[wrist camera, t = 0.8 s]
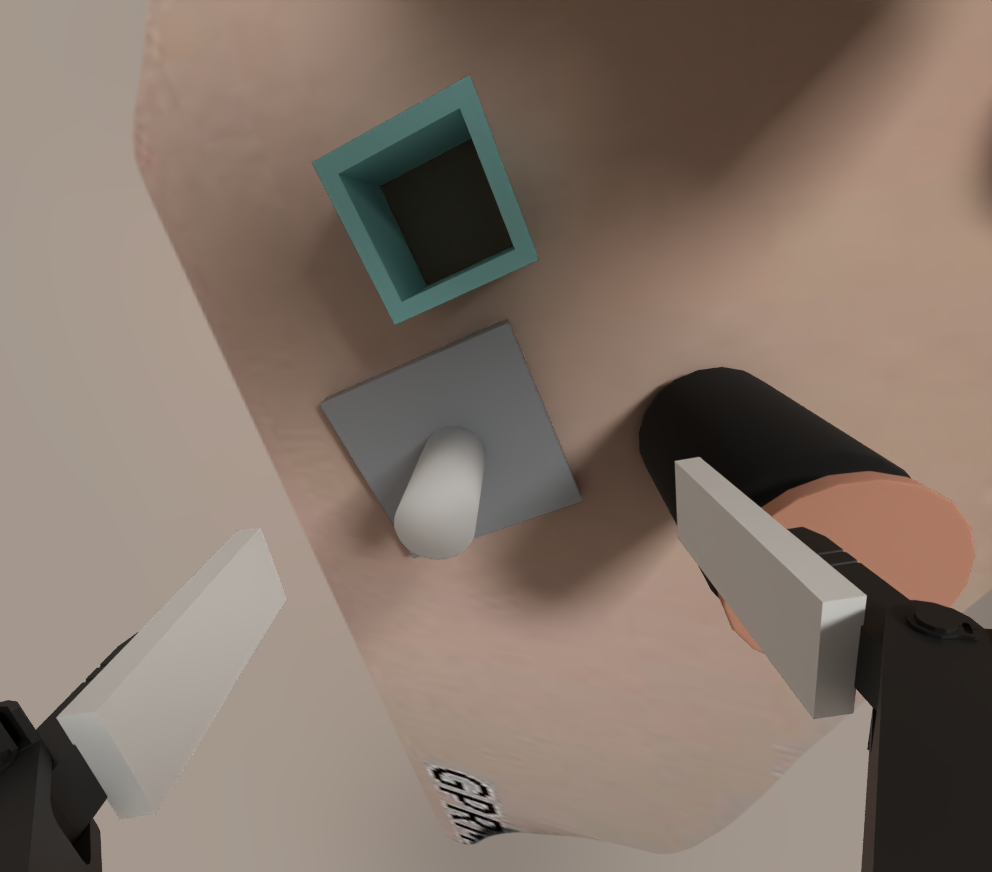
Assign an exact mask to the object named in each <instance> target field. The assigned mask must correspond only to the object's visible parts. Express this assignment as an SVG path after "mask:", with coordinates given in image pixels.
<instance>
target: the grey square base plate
mask: <svg viewBox="0 0 992 872" xmlns="http://www.w3.org/2000/svg"><path fill="white" fill-rule="evenodd" d="M319 405H320V407H321V408H322V410H323V411H324V413H325V415H326V416H327V418H328V420H329V421H330V423H331V424H332V426H333V428H334V429H335V431H336V433H337V434H338V436H339V437H340V439H341V441H342V442H343V444H344V446H345V447H346V449H347V451H348V452H349V454H350V455H351V457H352V459H353V460H354V462H355V464H356V465H357V467H358V468H359V470H360V472H361V473H362V475H363V477H364V478H365V480H366V482H367V483H368V485H369V486H370V488H371V490H372V491H373V493H374V495H375V496H376V498H377V499H378V501H379V503H380V504H381V506H382V508H383V509H384V511H385V512H386V514H387V516H388V517H389V519H390V521H391V522H392V524H393V526H394V527H395V531H396V534H397V536H398V538H399V540H400V541H401V543H402V544H403V545H404V546H405V547H406V548H407V549H408V550H409V552H410V553H411V555H412V557H413V558H416V557H419V556H422V557H425V558H429V559H447V558H451V557H454V556H457V555H458V554H460V553H462V552H463V551H464V550H466V549H467V548H468V546H469V545H470V544H471V542H472V540H473V538H475V537H478V536H481V535H484V534H487V533H490V532H493V531H496V530H499V529H502V528H505V527H508V526H511V525H514V524H517V523H520V522H523V521H526V520H529V519H532V518H535V517H538V516H541V515H544V514H547V513H550V512H553V511H556V510H559V509H562V508H565V507H568V506H571V505H574V504H577V503H580V502H583V501H582V497H581V493H580V490H579V488H578V485H577V483H576V481H575V478H574V476H573V473H572V471H571V469H570V466H569V464H568V461H567V459H566V457H565V454H564V452H563V449H562V447H561V445H560V442H559V440H558V437H557V435H556V433H555V430H554V428H553V425H552V423H551V421H550V418H549V416H548V413H547V411H546V409H545V406H544V404H543V402H542V399H541V397H540V394H539V392H538V390H537V387H536V385H535V382H534V380H533V378H532V375H531V373H530V370H529V368H528V366H527V363H526V361H525V358H524V356H523V354H522V351H521V349H520V346H519V344H518V342H517V339H516V337H515V334H514V332H513V330H512V327H511V325H510V322H509V320H508V319H507V320H505V321H503V322H500V323H498V324H496V325H493V326H491V327H489V328H487V329H484V330H482V331H480V332H477V333H475V334H473V335H470V336H468V337H466V338H463V339H461V340H459V341H456V342H454V343H452V344H449V345H447V346H445V347H443V348H440V349H438V350H436V351H433V352H431V353H429V354H426V355H424V356H422V357H419V358H417V359H415V360H412V361H410V362H408V363H406V364H403V365H401V366H399V367H396V368H394V369H392V370H389V371H387V372H385V373H382V374H380V375H378V376H375V377H373V378H371V379H369V380H366V381H364V382H362V383H359V384H357V385H355V386H352V387H350V388H348V389H345V390H343V391H341V392H338V393H336V394H334V395H331V396H329V397H327V398H325V399H324V400H323V401H322V402H321V403H320V404H319Z"/></svg>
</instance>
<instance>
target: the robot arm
mask: <svg viewBox="0 0 992 872" xmlns="http://www.w3.org/2000/svg"><path fill="white" fill-rule="evenodd" d="M675 479H676V504H677V529H678V539H679V540H680V542H681V543H682V544H683V546H684V547H685V548H686V550H687V551H688V552H689V554H690V555H691V556H692V558H693V559H694V560H695V562H696V563H697V564H698V566H699V567H700V568H701V570H702V571H703V572H704V574H705V575H706V576H707V578H708V579H709V580H710V582H711V583H712V584H713V586H714V587H715V588H716V590H717V591H718V592H719V594H720V595H721V596H722V598H723V599H724V600H725V602H726V603H727V604H728V606H729V607H730V608H731V610H732V611H733V612H734V614H735V615H736V616H737V618H738V619H739V620H740V622H741V623H742V624H743V626H744V627H745V628H746V630H747V631H748V632H749V634H750V635H751V636H752V638H753V639H754V640H755V642H756V643H757V644H758V646H759V647H760V648H761V650H762V651H763V652H764V654H765V655H766V656H767V658H768V659H769V660H770V662H771V663H772V664H773V666H774V667H775V668H776V670H777V671H778V672H779V674H780V675H781V676H782V678H783V679H784V680H785V682H786V683H787V684H788V686H789V687H790V688H791V690H792V691H793V692H794V694H795V695H796V696H797V698H798V699H799V700H800V702H801V703H802V704H803V706H804V707H805V708H806V710H807V711H808V712H809V714H810V715H811V716H812V718H813V719H817V718H823V717H830V716H837V715H844V714H851V713H853V712H854V703H855V694H856V689H857V690H858V691H859V693H860V694H861V695H862V696H863V697H864V698H865V699H866V700H867V701H868V702H869V704H870V705H871V706H872V707H873V711H872V718H871V726H870V734H869V741H868V750H869V762H868V778H867V793H866V810H865V823H864V839H863V855H862V869H861V872H992V629H984V628H983V627H981V626H980V625H979V624H978V623H976V622H975V621H974V620H973V619H971V618H970V617H968V616H966V615H964V614H962V613H960V612H958V611H956V610H954V609H952V608H949V607H946V606H943V605H940V604H936V603H933V602H926V601H919V600H909V599H908V598H907V597H905V596H904V595H903V594H901V593H900V592H899V591H897V590H896V589H895V588H893V587H892V586H891V585H890V584H888V583H887V582H886V581H884V580H883V579H882V578H880V577H879V576H878V575H876V574H875V573H874V572H872V571H871V570H870V569H868V568H867V567H866V566H864V565H863V564H862V563H858V562H857V560H856V559H855V558H854V557H852V556H851V555H850V554H848V553H847V552H843V549H842V548H840V547H839V546H838V545H837V544H835V543H834V542H833V541H831V540H830V539H829V538H827V537H826V536H824V535H821V534H819V533H817V532H814V531H812V530H810V529H807V528H805V527H797V528H790V529H786V528H785V527H783V526H782V525H781V524H780V523H779V522H777V521H776V520H775V519H774V518H773V517H771V516H770V515H769V514H768V513H767V512H765V511H764V510H763V509H762V508H761V507H759V506H758V505H757V504H756V503H755V502H753V501H752V500H751V499H750V498H748V497H747V496H746V495H745V494H744V493H742V492H741V491H740V490H739V489H738V488H736V487H735V486H734V485H733V484H732V483H730V482H729V481H728V480H727V479H726V478H724V477H723V476H722V475H721V474H719V473H718V472H717V471H716V470H715V469H713V468H712V467H711V466H710V465H709V464H707V463H706V462H705V461H704V460H703V459H701V458H700V457H696V458H690V459H684V460H677V461H675ZM286 599H287V598H286V595H285V593H284V590H283V587H282V584H281V581H280V579H279V576H278V573H277V571H276V568H275V565H274V563H273V560H272V557H271V554H270V552H269V549H268V546H267V544H266V541H265V538H264V535H263V533H262V530H261V527H257V528H251V529H244V530H238V531H236V532H235V533H234V534H233V535H232V536H231V537H230V538H229V539H228V540H227V541H226V542H225V544H223V545H222V547H221V548H220V549H219V550H218V551H217V552H216V553H215V554H214V555H213V556H212V557H211V558H210V559H209V560H208V561H207V562H206V563H205V564H204V565H203V566H202V567H201V568H200V569H199V570H198V571H197V572H196V574H195V575H194V576H193V577H192V578H191V579H190V580H189V581H188V582H187V583H186V584H185V585H184V586H183V587H182V588H181V589H180V590H179V591H178V592H177V593H176V594H175V595H174V596H173V597H172V598H171V599H170V600H169V601H168V602H167V604H166V605H165V606H164V607H163V608H162V609H161V610H160V611H159V612H158V613H157V614H156V615H155V616H154V617H153V618H152V619H151V620H150V621H149V622H148V623H147V624H146V625H145V626H144V627H143V628H142V629H141V630H140V631H139V632H138V633H136V634H135V635H133V636H132V637H131V638H129V639H128V640H127V641H125V642H124V643H122V644H121V645H119V646H118V647H117V648H116V649H115V650H114V651H113V652H112V653H111V654H110V655H109V656H108V657H107V658H106V659H105V660H104V661H103V662H102V663H101V666H100V668H96V669H95V670H94V671H93V672H92V673H91V674H90V675H89V676H88V678H87V679H86V682H85V683H82V684H81V685H80V686H79V687H78V688H77V689H76V690H75V691H74V692H73V693H72V694H71V695H70V696H69V697H68V698H67V699H66V700H65V701H64V702H63V703H62V704H61V705H60V706H59V707H58V708H57V709H56V710H55V711H54V712H53V713H52V714H51V715H50V716H49V717H48V718H47V719H46V720H45V721H44V722H43V723H42V724H41V725H40V726H39V727H38V728H37V729H36V730H35V728H34V727H33V725H32V724H31V722H30V721H29V719H28V717H27V716H26V715H25V713H24V711H23V710H22V708H21V707H20V705H19V704H18V702H16V701H9V700H7V701H3V702H0V872H102V859H101V838H100V830H99V828H98V826H97V824H96V822H95V821H94V819H93V817H94V816H95V814H96V813H97V811H98V810H99V809H100V807H101V806H102V804H103V803H104V802H105V800H106V799H107V800H108V802H109V803H110V805H111V806H112V808H113V810H114V811H115V813H116V814H117V816H118V817H119V819H124V818H130V817H138V816H145V815H152V814H156V813H157V812H158V810H159V809H160V807H161V805H162V804H163V802H164V800H165V799H166V797H167V795H168V794H169V792H170V790H171V789H172V787H173V786H174V784H175V782H176V781H177V779H178V777H179V776H180V774H181V772H182V771H183V769H184V768H185V766H186V764H187V762H188V761H189V759H190V758H191V756H192V754H193V753H194V751H195V749H196V748H197V746H198V744H199V743H200V741H201V739H202V738H203V736H204V734H205V733H206V731H207V729H208V728H209V726H210V725H211V723H212V721H213V720H214V718H215V716H216V715H217V713H218V711H219V710H220V708H221V706H222V705H223V703H224V702H225V700H226V698H227V697H228V695H229V693H230V692H231V690H232V688H233V687H234V685H235V683H236V682H237V680H238V678H239V677H240V675H241V673H242V672H243V670H244V669H245V667H246V665H247V663H248V662H249V660H250V659H251V657H252V655H253V654H254V652H255V650H256V649H257V647H258V645H259V644H260V642H261V640H262V639H263V637H264V636H265V634H266V632H267V630H268V629H269V627H270V626H271V624H272V622H273V621H274V619H275V617H276V616H277V614H278V613H279V610H280V609H281V608H282V606H283V604H284V603H285V601H286Z"/></svg>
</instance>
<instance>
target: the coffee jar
mask: <svg viewBox="0 0 992 872" xmlns="http://www.w3.org/2000/svg"><path fill="white" fill-rule="evenodd" d="M639 446H640V454H641V456H642V458H643V461H644V463H645V465H646V468H647V470H648V472H649V473H650V475H651V477H652V479H653V481H654V483H655V485H656V487H657V489H658V490H659V492H660V494H661V496H662V498H663V500H664V502H665V504H666V506H667V507H668V509H669V511H670V513H671V515H672V517H673V519H674V521H675V523H676V524H677V504H676V479H675V461H677V460H684V459H690V458H696V457H700V458H701V459H703V460H704V461H705V462H706V463H707V464H709V465H710V466H711V467H712V468H713V469H715V470H716V471H717V472H718V473H719V474H721V475H722V476H723V477H724V478H726V479H727V480H728V481H729V482H730V483H732V484H733V485H734V486H735V487H736V488H738V489H739V490H740V491H741V492H742V493H744V494H745V495H746V496H747V497H748V498H750V499H751V500H752V501H753V502H755V503H756V504H757V505H758V506H759V507H761V508H762V509H763V510H764V511H765V512H767V513H768V514H769V515H770V516H771V517H773V518H774V519H775V520H776V521H777V522H779V523H780V524H781V525H782V526H783V527H785V528H786V529H790V528H797V527H805V528H807V529H810V530H812V531H814V532H817V533H819V534H821V535H824V536H826V537H827V538H829V539H830V540H831V541H833V542H834V543H835V544H837V545H838V546H839V547H840V548H842V549H843V552H847V553H848V554H850V555H851V556H852V557H854V558H855V559H856V560H857V562H858V563H862V564H863V565H864V566H866V567H867V568H868V569H870V570H871V571H872V572H874V573H875V574H876V575H878V576H879V577H880V578H882V579H883V580H884V581H886V582H887V583H888V584H890V585H891V586H892V587H893V588H895V589H896V590H897V591H899V592H900V593H901V594H903V595H904V596H905V597H907V598H908V599H909V600H919V601H926V602H933V603H936V604H940V605H943V606H946V607H949V608H950V607H951V606H952V604H953V603H954V602H955V600H956V599H957V598H958V596H959V595H960V593H961V592H962V591H963V589H964V588H965V587H966V584H967V581H968V578H969V575H970V571H971V568H972V565H973V562H974V558H975V552H974V545H973V538H972V530H971V527H970V525H969V524H968V522H967V521H966V520H965V518H964V517H963V516H962V514H961V513H960V511H959V510H958V509H957V507H956V506H955V505H954V503H953V502H952V501H951V500H949V499H948V498H946V497H944V496H942V495H940V494H938V493H937V492H935V491H933V490H931V489H929V488H928V487H926V486H924V485H922V484H920V483H918V482H916V481H914V480H912V479H911V478H910V476H909V475H908V474H907V473H906V472H905V471H904V470H903V469H901V468H900V467H898V466H897V465H895V464H893V463H892V462H890V461H889V460H887V459H885V458H884V457H882V456H881V455H879V454H878V453H876V452H874V451H873V450H871V449H870V448H868V447H866V446H865V445H863V444H862V443H860V442H858V441H857V440H855V439H854V438H852V437H851V436H849V435H847V434H846V433H844V432H843V431H841V430H839V429H838V428H836V427H835V426H833V425H832V424H830V423H828V422H827V421H825V420H824V419H822V418H820V417H819V416H817V415H816V414H814V413H812V412H811V411H809V410H808V409H806V408H805V407H803V406H801V405H800V404H798V403H797V402H795V401H793V400H792V399H790V398H789V397H787V396H786V395H784V394H782V393H781V392H779V391H778V390H776V389H774V388H773V387H771V386H770V385H768V384H767V383H765V382H763V381H762V380H760V379H758V378H756V377H754V376H753V375H751V374H749V373H747V372H745V371H742V370H736V369H731V368H725V367H719V368H711V369H704V370H698V371H695V372H693V373H690V374H688V375H686V376H683V377H681V378H679V379H677V380H675V381H674V382H672V383H671V384H670V385H669V386H667V387H666V388H665V389H664V390H663V391H661V392H660V393H659V394H658V395H657V396H656V398H655V399H654V401H653V402H652V403H651V405H650V406H649V408H648V409H647V411H646V412H645V415H644V418H643V421H642V425H641V428H640V431H639ZM699 568H700V567H699ZM700 570H701V568H700ZM701 572H702V574H703V575H704V577H705V579H706V581H707V583H708V585H709V587H710V589H711V590H712V592H713V593H714V594H715V595H716V596H717V597H718V598H719V599H720V601H721V603H722V606H723V608H724V610H725V613H726V615H727V618H728V620H729V623H730V625H731V627H732V629H733V630H734V631H735V632H736V633H737V634H738V635H739V636H740V637H741V638H742V639H743V640H744V641H745V642H747V643H748V644H749V645H750V646H751V647H752V648H753V649H755V650H757V651H759V652H762V653H764V652H763V651H762V650H761V648H760V647H759V646H758V644H757V643H756V642H755V640H754V639H753V638H752V636H751V635H750V634H749V632H748V631H747V630H746V628H745V627H744V626H743V624H742V623H741V622H740V620H739V619H738V618H737V616H736V615H735V614H734V612H733V611H732V610H731V608H730V607H729V606H728V604H727V603H726V602H725V600H724V599H723V598H722V596H721V595H720V594H719V592H718V591H717V590H716V588H715V587H714V586H713V584H712V583H711V582H710V580H709V579H708V578H707V576H706V575H705V574H704V572H703V571H702V570H701Z"/></svg>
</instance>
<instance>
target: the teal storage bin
mask: <svg viewBox="0 0 992 872" xmlns="http://www.w3.org/2000/svg"><path fill="white" fill-rule="evenodd" d="M471 138H472V141H473V143H474V146H475V148H476V151H477V153H478V156H479V159H480V161H481V164H482V166H483V169H484V171H485V174H486V177H487V179H488V182H489V184H490V187H491V189H492V192H493V194H494V197H495V200H496V202H497V205H498V207H499V210H500V212H501V215H502V218H503V220H504V223H505V225H506V228H507V230H508V233H509V235H510V238H511V241H512V243H513V246H512V247H510V248H508V249H505V250H503V251H501V252H499V253H497V254H495V255H493V256H490V257H488V258H486V259H484V260H482V261H480V262H477V263H475V264H473V265H471V266H469V267H467V268H465V269H462V270H460V271H458V272H456V273H454V274H452V275H450V276H447V277H445V278H443V279H441V280H439V281H437V282H434V283H432V284H430V285H428V286H427V285H426V283H425V281H424V279H423V276H422V274H421V272H420V270H419V268H418V266H417V264H416V262H415V259H414V257H413V255H412V253H411V251H410V249H409V247H408V245H407V242H406V240H405V238H404V236H403V234H402V232H401V230H400V228H399V226H398V223H397V221H396V219H395V217H394V215H393V213H392V211H391V209H390V206H389V204H388V202H387V200H386V198H385V196H384V194H383V192H382V189H381V187H380V186H382V185H384V184H386V183H387V182H389V181H391V180H393V179H395V178H397V177H399V176H401V175H403V174H405V173H407V172H408V171H410V170H412V169H414V168H416V167H418V166H420V165H422V164H424V163H426V162H427V161H429V160H431V159H433V158H435V157H437V156H439V155H441V154H443V153H445V152H447V151H448V150H450V149H452V148H454V147H456V146H458V145H460V144H462V143H464V142H466V141H467V140H469V139H471ZM312 164H313V166H314V168H315V170H316V172H317V174H318V176H319V178H320V180H321V182H322V184H323V186H324V188H325V190H326V192H327V194H328V196H329V198H330V200H331V201H332V203H333V205H334V207H335V209H336V211H337V213H338V215H339V217H340V219H341V221H342V223H343V225H344V227H345V229H346V231H347V233H348V235H349V237H350V239H351V241H352V242H353V244H354V246H355V248H356V250H357V252H358V254H359V256H360V258H361V260H362V262H363V264H364V266H365V268H366V270H367V272H368V274H369V276H370V278H371V280H372V282H373V284H374V285H375V287H376V289H377V291H378V293H379V295H380V297H381V299H382V301H383V303H384V305H385V307H386V309H387V311H388V313H389V315H390V317H391V319H392V321H393V323H394V325H396V324H398V323H400V322H403V321H405V320H407V319H409V318H411V317H414V316H416V315H418V314H420V313H422V312H425V311H427V310H429V309H431V308H434V307H436V306H438V305H440V304H442V303H445V302H447V301H449V300H451V299H453V298H456V297H458V296H460V295H462V294H464V293H467V292H469V291H471V290H473V289H475V288H478V287H480V286H482V285H484V284H486V283H489V282H491V281H493V280H495V279H497V278H500V277H502V276H504V275H506V274H509V273H511V272H513V271H515V270H517V269H520V268H522V267H524V266H526V265H528V264H531V263H533V262H535V261H537V260H539V258H538V256H537V253H536V250H535V248H534V245H533V242H532V240H531V237H530V234H529V232H528V229H527V226H526V224H525V221H524V218H523V216H522V213H521V210H520V208H519V205H518V202H517V200H516V197H515V194H514V192H513V189H512V186H511V184H510V181H509V178H508V176H507V173H506V170H505V168H504V165H503V162H502V160H501V157H500V154H499V152H498V149H497V146H496V144H495V141H494V138H493V136H492V133H491V130H490V128H489V125H488V122H487V120H486V117H485V114H484V112H483V109H482V106H481V104H480V101H479V98H478V96H477V93H476V90H475V88H474V85H473V82H472V80H471V77H470V75H468V76H467V77H465V78H463V79H461V80H459V81H458V82H456V83H454V84H452V85H450V86H449V87H447V88H445V89H443V90H441V91H440V92H438V93H436V94H434V95H432V96H431V97H429V98H427V99H425V100H423V101H422V102H420V103H418V104H416V105H414V106H413V107H411V108H409V109H407V110H405V111H404V112H402V113H400V114H398V115H396V116H395V117H393V118H391V119H389V120H387V121H386V122H384V123H382V124H380V125H378V126H377V127H375V128H373V129H371V130H369V131H368V132H366V133H364V134H362V135H360V136H359V137H357V138H355V139H353V140H351V141H350V142H348V143H346V144H344V145H342V146H341V147H339V148H337V149H335V150H333V151H332V152H330V153H328V154H326V155H324V156H323V157H321V158H319V159H317V160H315V161H314V162H312Z"/></svg>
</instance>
